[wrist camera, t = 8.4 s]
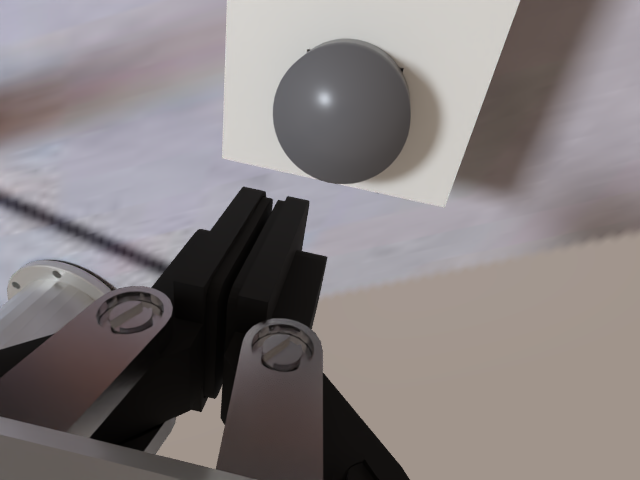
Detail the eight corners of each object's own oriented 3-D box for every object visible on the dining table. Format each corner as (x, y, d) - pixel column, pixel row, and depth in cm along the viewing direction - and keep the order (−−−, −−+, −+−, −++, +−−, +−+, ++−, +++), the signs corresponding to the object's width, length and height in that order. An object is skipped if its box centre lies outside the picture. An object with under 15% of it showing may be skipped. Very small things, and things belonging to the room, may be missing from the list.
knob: (395, 141, 26) (390, 196, 20) (300, 120, 27) (267, 168, 20) (422, 35, 23) (428, 61, 17) (315, 14, 24) (280, 32, 17)
